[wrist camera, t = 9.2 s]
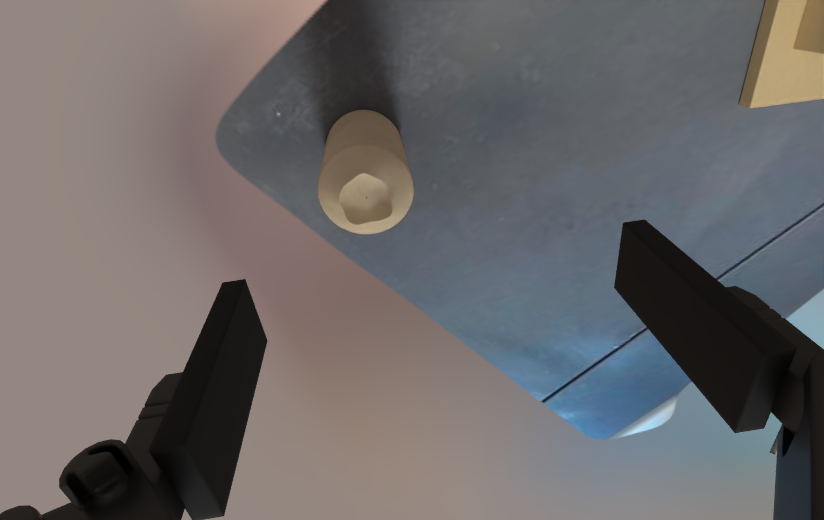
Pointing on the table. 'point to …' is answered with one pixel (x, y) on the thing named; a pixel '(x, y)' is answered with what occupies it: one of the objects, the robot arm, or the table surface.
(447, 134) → the table surface
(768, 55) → the bracket
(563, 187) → the table surface
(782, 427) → the robot arm
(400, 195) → the candle
